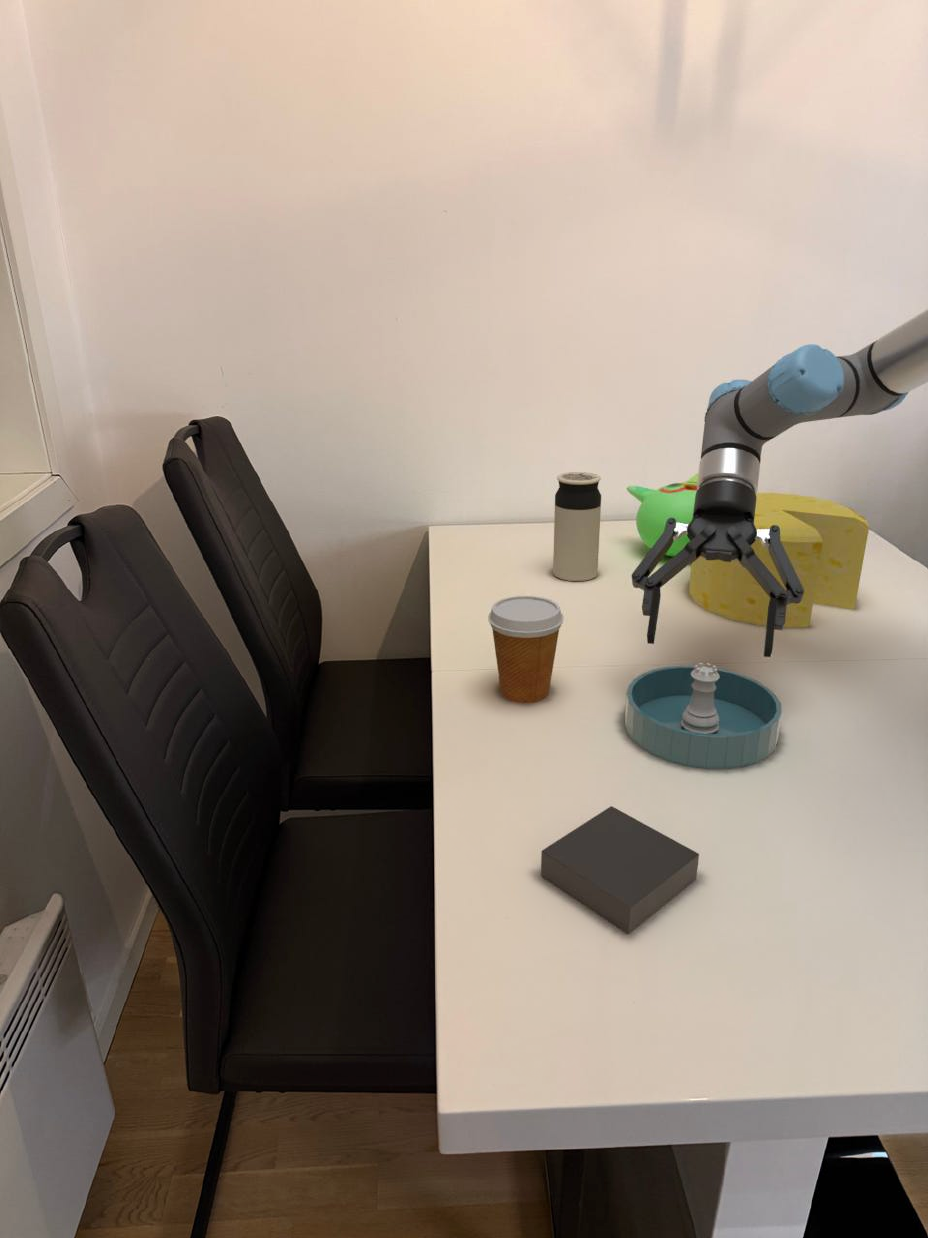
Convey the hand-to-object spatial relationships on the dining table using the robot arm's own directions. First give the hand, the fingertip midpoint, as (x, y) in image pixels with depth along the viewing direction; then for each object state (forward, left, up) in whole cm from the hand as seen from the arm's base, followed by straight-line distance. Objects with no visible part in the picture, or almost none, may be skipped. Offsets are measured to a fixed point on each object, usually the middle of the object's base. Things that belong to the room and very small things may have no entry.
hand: (707, 646), depth 100 cm
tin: (-3, +2, -9) cm, 10 cm away
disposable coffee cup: (+14, +17, -9) cm, 24 cm away
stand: (-22, +25, -9) cm, 35 cm away
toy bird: (+53, -35, -9) cm, 64 cm away
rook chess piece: (-3, +2, -9) cm, 10 cm away
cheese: (+28, -35, -9) cm, 45 cm away
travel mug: (+51, -11, -9) cm, 53 cm away
